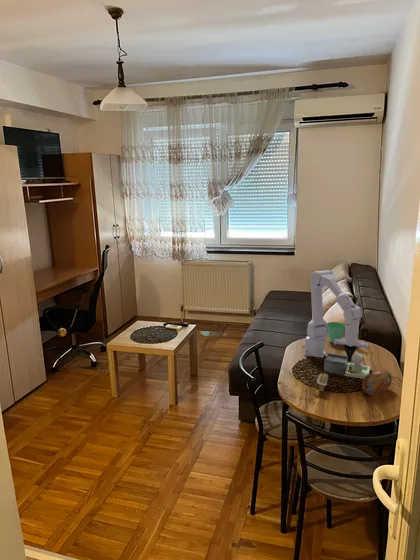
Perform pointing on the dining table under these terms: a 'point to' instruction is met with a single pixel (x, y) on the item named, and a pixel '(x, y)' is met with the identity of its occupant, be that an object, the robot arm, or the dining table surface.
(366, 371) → the tray
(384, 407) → the dining table surface
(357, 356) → the chip
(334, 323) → the mug
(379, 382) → the tin
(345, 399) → the dining table surface
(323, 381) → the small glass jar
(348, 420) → the dining table surface
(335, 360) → the slot block
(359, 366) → the chip
